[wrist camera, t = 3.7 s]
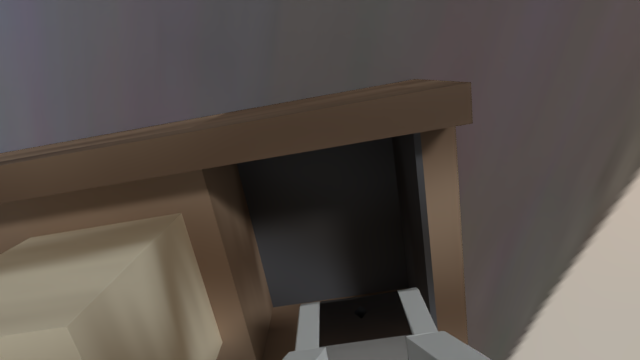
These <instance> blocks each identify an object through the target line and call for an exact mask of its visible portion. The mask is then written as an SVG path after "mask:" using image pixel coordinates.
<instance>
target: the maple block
mask: <svg viewBox="0 0 640 360" xmlns="http://www.w3.org/2000/svg"><path fill="white" fill-rule="evenodd" d="M221 345H222V339H221V336H220V333H219V330H218V327H217V324H216V320H215V317H214V314H213V311H212V308H211V305H210V301H209V298H208V295H207V292H206V289H205V286H204V282H203V279H202V276H201V273H200V270H199V267H198V264H197V260H196V257H195V254H194V251H193V248H192V245H191V241H190V238H189V235H188V232H187V229H186V226H185V222H184V219H183V216H182V213H178V214H172V215H166V216H160V217H154V218H148V219H142V220H135V221H129V222H123V223H117V224H111V225H105V226H99V227H93V228H86V229H80V230H74V231H68V232H62V233H56V234H50V235H44V236H37V237H31V238H29V239H27V240H25V241H23V242H22V243H20V244H18V245H16V246H15V247H13V248H11V249H9V250H7V251H6V252H4V253H2V254H0V360H216V359H217V356H218V353H219V351H220V348H221Z"/></svg>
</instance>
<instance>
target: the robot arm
mask: <svg viewBox="0 0 640 360" xmlns="http://www.w3.org/2000/svg"><path fill="white" fill-rule="evenodd" d="M282 360H491V359H490V358H488V357H486V356H485V355H483V354H481V353H480V352H478V351H477V350H475V349H473V348H472V347H470V346H468V345H467V344H465V343H463V342H462V341H460V340H459V339H457V338H455V337H454V336H452V335H450V334H449V333H447V332H445V331H439V332H438V330H437V328H436V326H435V324H434V322H433V319H432V317H431V315H430V313H429V311H428V309H427V306H426V304H425V302H424V300H423V298H422V296H421V293H420V291H419V289H418V288H416V287H415V288H409V289H403V290H398V291H395V292H389V293H382V294H376V295H369V296H363V297H352V298H344V299H335V300H327V301H321V302H312V303H305V304H301V305H300V307H299V315H298V325H297V334H296V344H295V351H292V352H288V353H287V355H286V356H285V357H284V358H283V359H282Z"/></svg>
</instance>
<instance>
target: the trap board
mask: <svg viewBox="0 0 640 360" xmlns="http://www.w3.org/2000/svg"><path fill="white" fill-rule="evenodd" d="M472 123H473V121H472V97H471V82H455V81H437V80H420V79H413V80H408V81H402V82H397V83H391V84H385V85H380V86H374V87H369V88H363V89H357V90H352V91H346V92H341V93H335V94H330V95H324V96H318V97H313V98H307V99H302V100H296V101H290V102H285V103H279V104H274V105H268V106H262V107H257V108H251V109H246V110H240V111H234V112H229V113H223V114H218V115H212V116H206V117H201V118H195V119H190V120H184V121H179V122H173V123H167V124H162V125H156V126H151V127H145V128H139V129H134V130H128V131H123V132H117V133H111V134H106V135H100V136H95V137H89V138H83V139H78V140H72V141H67V142H61V143H55V144H50V145H44V146H39V147H33V148H28V149H22V150H16V151H11V152H5V153H0V254H2V253H4V252H6V251H7V250H9V249H11V248H13V247H15V246H16V245H18V244H20V243H22V242H23V241H25V240H27V239H29V238H31V237H37V236H44V235H50V234H56V233H62V232H68V231H74V230H80V229H86V228H93V227H99V226H105V225H111V224H117V223H123V222H129V221H135V220H142V219H148V218H154V217H160V216H166V215H172V214H178V213H182V216H183V219H184V222H185V226H186V229H187V232H188V235H189V238H190V241H191V245H192V248H193V251H194V254H195V257H196V260H197V264H198V267H199V270H200V273H201V276H202V279H203V282H204V286H205V289H206V292H207V295H208V298H209V301H210V305H211V308H212V311H213V314H214V317H215V320H216V324H217V327H218V330H219V333H220V336H221V339H222V345H221V348H220V351H219V353H218V356H217V359H216V360H282V359H283V358H284V357H285V356H286V355H287V353H288V352H292V351H295V344H296V334H297V325H298V315H299V307H300V305H301V304H305V303H312V302H321V301H327V300H335V299H344V298H352V297H363V296H369V295H376V294H382V293H389V292H395V291H398V290H403V289H409V288H415V287H416V288H418V289H419V291H420V293H421V296H422V298H423V300H424V302H425V304H426V306H427V309H428V311H429V313H430V315H431V317H432V319H433V322H434V324H435V326H436V328H437V330H438V332H439V331H445V332H447V333H449V334H450V335H452V336H454V337H455V338H457V339H459V340H460V341H462V342H463V343H465V344H467V345H468V337H467V319H466V302H465V285H464V268H463V250H462V233H461V216H460V198H459V181H458V164H457V146H456V129H455V126H460V125H466V124H472Z"/></svg>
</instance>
